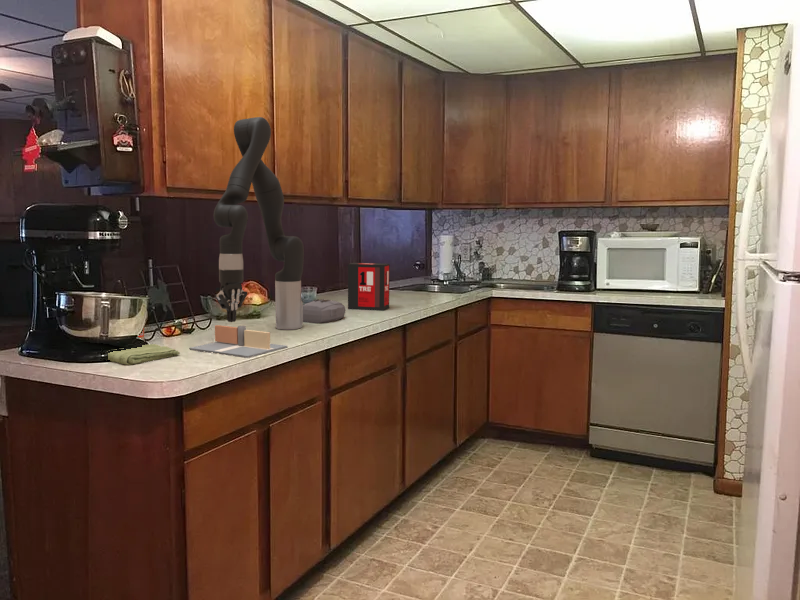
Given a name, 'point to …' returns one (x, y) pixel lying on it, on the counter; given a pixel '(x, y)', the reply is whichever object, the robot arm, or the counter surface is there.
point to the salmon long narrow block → (226, 334)
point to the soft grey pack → (323, 311)
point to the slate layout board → (235, 351)
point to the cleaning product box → (368, 286)
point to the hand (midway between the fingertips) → (231, 321)
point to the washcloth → (142, 354)
